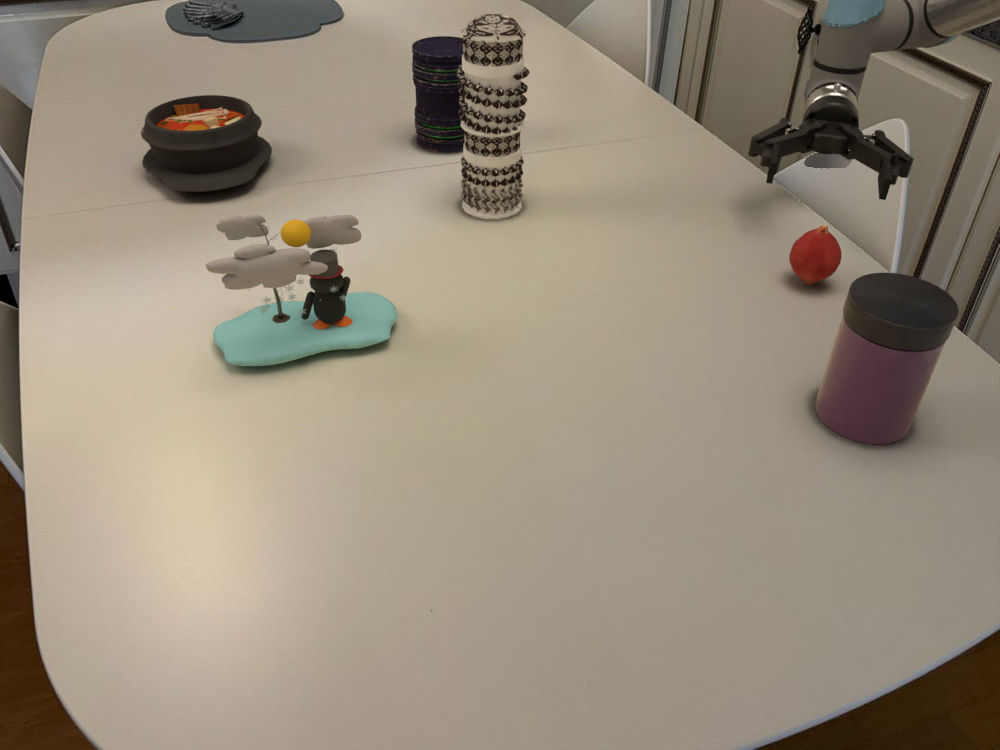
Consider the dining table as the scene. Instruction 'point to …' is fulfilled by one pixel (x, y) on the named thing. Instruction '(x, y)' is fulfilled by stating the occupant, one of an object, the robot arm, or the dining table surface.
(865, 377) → the jar
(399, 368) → the dining table surface
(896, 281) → the jar lid
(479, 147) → the decorative candle
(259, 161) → the casserole
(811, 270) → the red pomegranate
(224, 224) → the penguin figurine
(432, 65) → the storage jar
